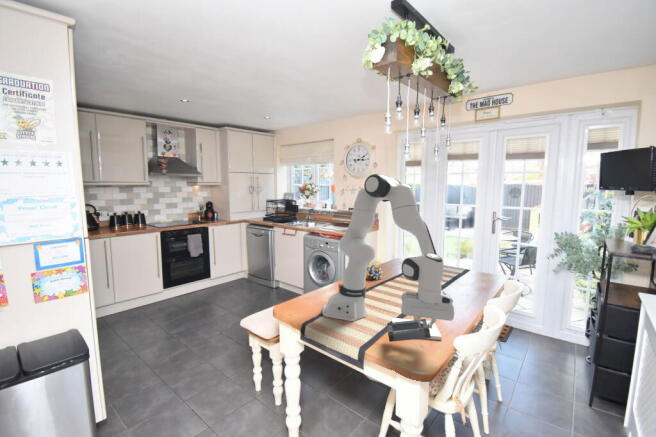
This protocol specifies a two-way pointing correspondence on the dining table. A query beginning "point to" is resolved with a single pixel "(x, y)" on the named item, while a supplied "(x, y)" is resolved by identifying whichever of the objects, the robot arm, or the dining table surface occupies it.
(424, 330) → the dark grey rectangular frame
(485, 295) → the dining table surface
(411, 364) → the dining table surface
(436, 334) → the plate
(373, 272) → the passion flower
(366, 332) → the dining table surface
